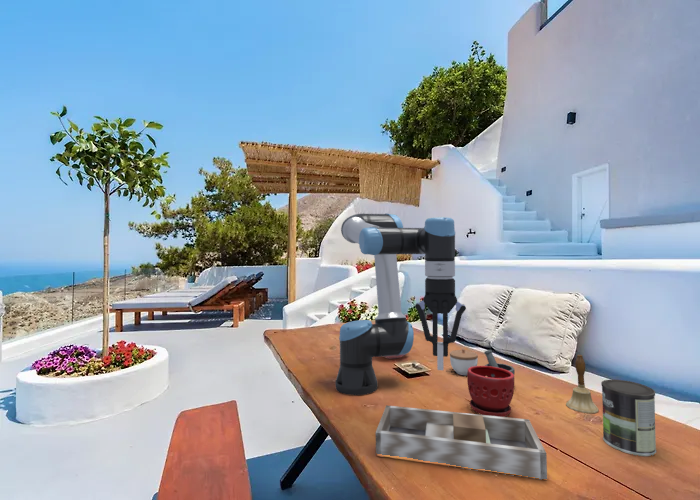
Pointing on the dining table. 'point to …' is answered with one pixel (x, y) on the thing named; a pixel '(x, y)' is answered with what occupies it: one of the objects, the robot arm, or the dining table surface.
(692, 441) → the dining table surface
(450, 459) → the box
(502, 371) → the plant pot
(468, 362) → the lidded jar
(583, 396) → the hand bell
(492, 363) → the mortar and pestle
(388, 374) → the dining table surface
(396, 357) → the cell model
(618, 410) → the coffee can
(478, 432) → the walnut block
